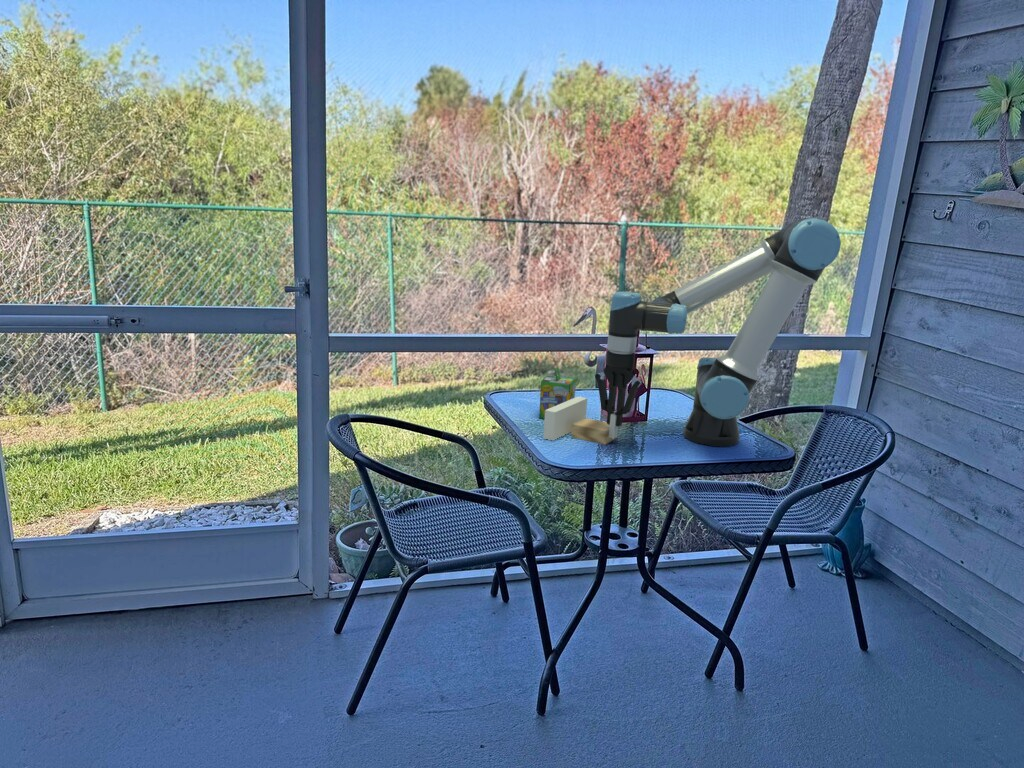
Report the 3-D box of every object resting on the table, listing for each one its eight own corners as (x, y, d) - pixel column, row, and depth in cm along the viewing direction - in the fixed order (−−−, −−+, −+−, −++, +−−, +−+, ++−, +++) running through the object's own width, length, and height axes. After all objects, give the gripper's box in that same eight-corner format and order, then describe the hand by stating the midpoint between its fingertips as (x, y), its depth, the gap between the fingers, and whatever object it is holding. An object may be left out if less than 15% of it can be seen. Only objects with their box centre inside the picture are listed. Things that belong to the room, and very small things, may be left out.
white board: (585, 424, 214) (587, 398, 212) (552, 441, 197) (555, 412, 195) (576, 422, 216) (578, 396, 214) (543, 438, 199) (545, 410, 197)
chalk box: (568, 422, 215) (572, 373, 212) (538, 418, 218) (541, 370, 214) (574, 414, 224) (578, 367, 221) (545, 411, 226) (548, 364, 223)
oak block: (616, 438, 204) (617, 424, 203) (604, 445, 197) (606, 431, 196) (583, 431, 208) (585, 417, 207) (571, 438, 202) (572, 424, 201)
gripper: (649, 352, 193) (640, 438, 199) (604, 345, 200) (596, 429, 205) (639, 356, 187) (630, 445, 192) (592, 349, 193) (585, 435, 199)
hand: (613, 436), depth 199 cm, fingers closed
